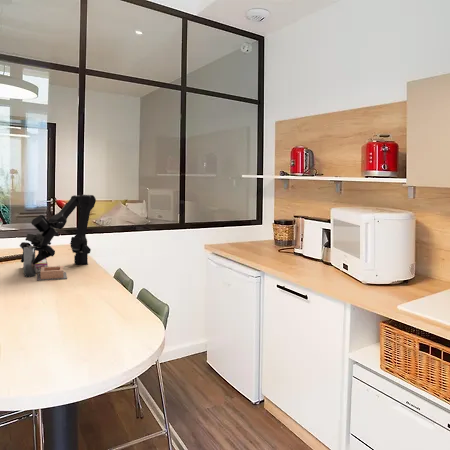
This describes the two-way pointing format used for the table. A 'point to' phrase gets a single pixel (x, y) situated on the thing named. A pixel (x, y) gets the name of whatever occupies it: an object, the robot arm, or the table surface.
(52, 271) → the terracotta socket
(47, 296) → the table surface
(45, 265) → the candy bar box
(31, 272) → the metal pin
